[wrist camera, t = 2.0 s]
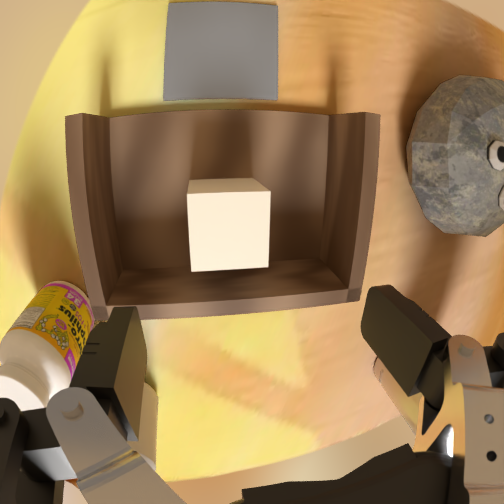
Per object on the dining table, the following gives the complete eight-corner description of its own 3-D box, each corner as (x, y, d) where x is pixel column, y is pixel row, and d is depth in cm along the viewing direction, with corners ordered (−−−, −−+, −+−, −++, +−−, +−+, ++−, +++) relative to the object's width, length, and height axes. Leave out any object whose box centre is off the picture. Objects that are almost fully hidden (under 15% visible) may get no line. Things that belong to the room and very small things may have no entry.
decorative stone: (505, 190, 30) (557, 211, 21) (409, 254, 30) (469, 295, 21) (482, 69, 23) (542, 69, 14) (368, 96, 23) (443, 88, 14)
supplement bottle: (106, 330, 27) (74, 431, 15) (55, 336, 26) (14, 425, 15) (82, 272, 24) (24, 364, 13) (31, 282, 24) (-33, 363, 12)
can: (107, 407, 31) (94, 485, 20) (91, 367, 28) (67, 452, 17) (162, 410, 33) (162, 492, 22) (153, 370, 30) (147, 462, 19)
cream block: (252, 178, 23) (270, 191, 18) (252, 237, 25) (268, 267, 20) (189, 179, 23) (186, 193, 17) (192, 240, 24) (191, 271, 19)
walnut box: (337, 117, 23) (380, 114, 17) (326, 265, 29) (359, 300, 22) (98, 120, 20) (65, 116, 14) (114, 278, 25) (94, 320, 19)
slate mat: (276, 7, 19) (277, 5, 18) (276, 100, 22) (277, 99, 22) (168, 5, 17) (168, 3, 17) (163, 100, 21) (163, 100, 20)
